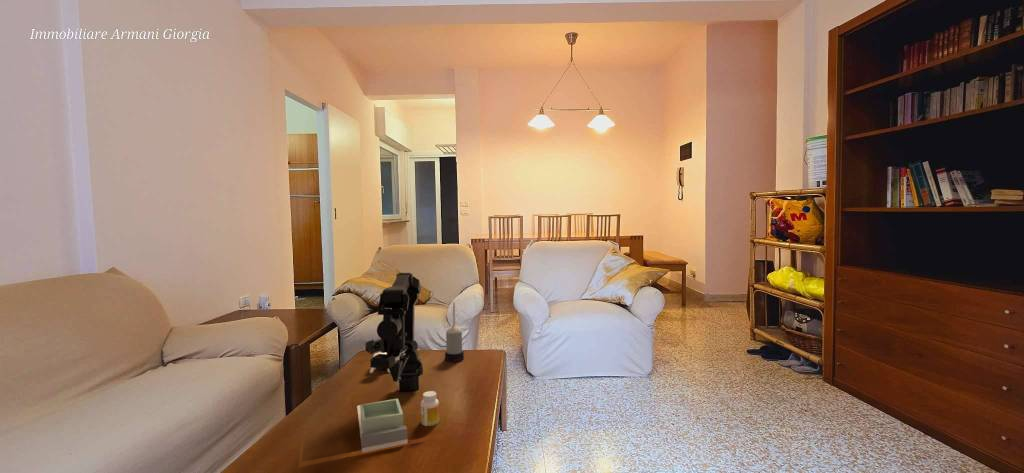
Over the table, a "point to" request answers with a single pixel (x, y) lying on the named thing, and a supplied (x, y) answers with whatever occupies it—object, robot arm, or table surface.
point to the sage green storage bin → (381, 415)
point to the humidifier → (454, 342)
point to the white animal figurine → (375, 368)
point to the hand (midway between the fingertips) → (395, 381)
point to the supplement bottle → (429, 409)
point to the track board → (381, 437)
